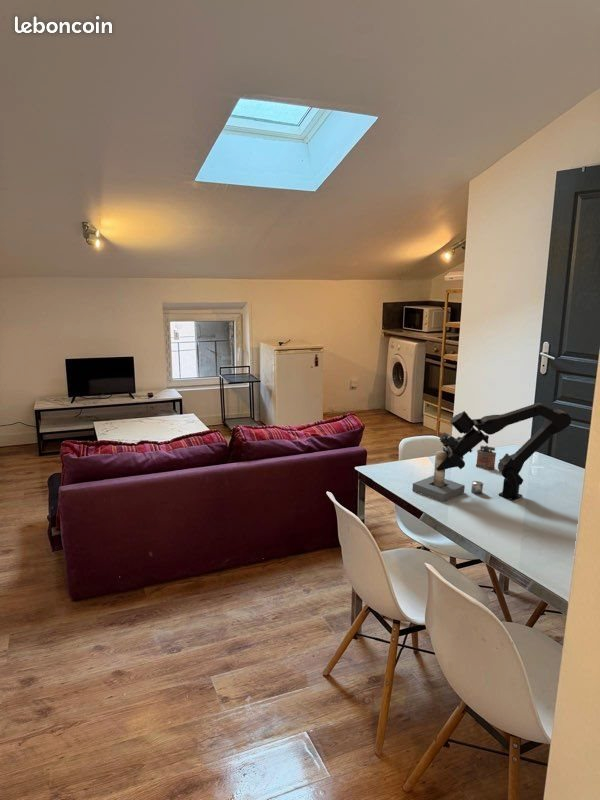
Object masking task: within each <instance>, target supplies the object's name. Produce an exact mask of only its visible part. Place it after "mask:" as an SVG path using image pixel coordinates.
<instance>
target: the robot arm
mask: <svg viewBox="0 0 600 800" xmlns="http://www.w3.org/2000/svg"><path fill="white" fill-rule="evenodd" d="M539 416H540V417H543V418H544V422H543V424H542V426H541V427H540V428H539V429H538V430H537V431H536V432H535V433H534V434H533V435H532V436H531V437H530V438H529V439H528V440H527V441H526V442H525V443H524V444H523V445H522V446H520V448H518V449H517V451H516V452H514V453H512V454H508V453H505V454H504V455H503V457H502V458H500V459H499V460H498V461H499V462H498V463H497V469H498V471H499V473H500V474H501V476H502V478H503V485H502V491H501V492H500V493H498V496H499V497H503V498H506V499H510V500H513V501H515V500H517V499H519V498H522V497H523V495H522V494H521V493H520V486H522V484H523V483H524V479H523V478H522V476H521V475H520V472H521V471H522V469H523V467H524V464H525V462H527V460H528V459H530V457H531V456H533V455H534V453H536V452H537V451H538V450H539V449H540V447H542V446H543V445H544V444H545V443H546V442H547V441H549V439H550V438H551V437H552V436H554V435H555V434H558V433H561V432H562V431H564V430H565V429H567V428H569V426H570V425H571V424H572V418H571V416H570V415H569V414H568V413H566V412H565V411H563V410H561V409H558V408H557V409H553V408H550V407H549V406H546V405H543V404H542V403H541V402H535V403H532V404H531V405H530V404H529V405H528V406H524V407H521V408H518V409H515V410H512V411H509V412H505V413H503V414H491V415H485V416H483V417H481V418H474V419H473V418H471V417H470V416H469V415H468V413H467V412H466V411H465V410H464V411H462V412H459V413H457V414H456V415H454V416H453V417H452V418H451V420H450V421H449V423H450V424H451V425H452V426H453V427H454V428H455V430H457V432H458V433H460V434H463V435H462V437H461V436H458V437H454V436H452V435H451V434H448V433H447V432H445V431H444V432H442V434H441V435H440V437H439V440H440V443H442V446H444V447H442V451H444V452H446V453H447V454H446V458H445V460H444V461H443V462H442V463H441V464H440V465H439V466H438V467H437V471H441V470H445V471H446V470H448V469H452V468H458V469H459V470H462V469H463V468H465V467H466V463H465V460H464V456H466V455H467V453H472V452H473V450H472V449H474V448H475V447H476V446H479V444H480V443H481V442H482V441H483V442H484V443H485V444H489V439H490V438H489V437H490V436H491V435H494V434H497V433H498V432H500V431H502V430H503V429H505V428H506V427H508V426H509V425H513V424H517V423H519V422H523V421H526V420H529V419H532V418H535V417H539Z"/></svg>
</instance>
